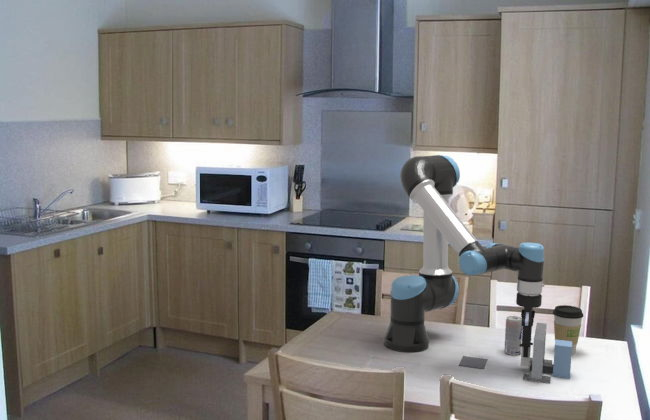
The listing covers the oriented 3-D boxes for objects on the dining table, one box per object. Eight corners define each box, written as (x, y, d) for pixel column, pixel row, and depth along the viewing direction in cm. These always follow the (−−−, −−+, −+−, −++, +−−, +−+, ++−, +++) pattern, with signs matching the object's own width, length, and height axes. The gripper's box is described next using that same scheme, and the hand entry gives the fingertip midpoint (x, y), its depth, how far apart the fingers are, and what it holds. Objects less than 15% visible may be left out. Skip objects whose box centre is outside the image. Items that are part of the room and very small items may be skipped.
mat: (458, 365, 228) (458, 365, 228) (462, 356, 236) (462, 355, 236) (484, 369, 225) (484, 368, 225) (487, 359, 234) (487, 358, 234)
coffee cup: (582, 357, 237) (586, 314, 234) (551, 355, 239) (554, 311, 236) (578, 348, 246) (581, 305, 244) (548, 345, 248) (551, 303, 246)
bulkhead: (522, 379, 217) (525, 338, 215) (526, 360, 234) (528, 321, 232) (550, 383, 214) (552, 341, 213) (552, 363, 231) (554, 324, 229)
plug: (529, 373, 223) (531, 342, 221) (530, 367, 228) (532, 336, 226) (569, 378, 219) (572, 347, 217) (570, 372, 224) (572, 341, 222)
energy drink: (522, 351, 242) (523, 317, 240) (519, 356, 237) (521, 321, 235) (505, 349, 244) (507, 315, 242) (502, 353, 239) (504, 319, 238)
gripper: (540, 299, 214) (536, 374, 218) (542, 289, 227) (538, 360, 230) (515, 296, 217) (510, 371, 220) (518, 286, 229) (514, 357, 233)
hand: (525, 365), depth 225 cm, fingers closed
